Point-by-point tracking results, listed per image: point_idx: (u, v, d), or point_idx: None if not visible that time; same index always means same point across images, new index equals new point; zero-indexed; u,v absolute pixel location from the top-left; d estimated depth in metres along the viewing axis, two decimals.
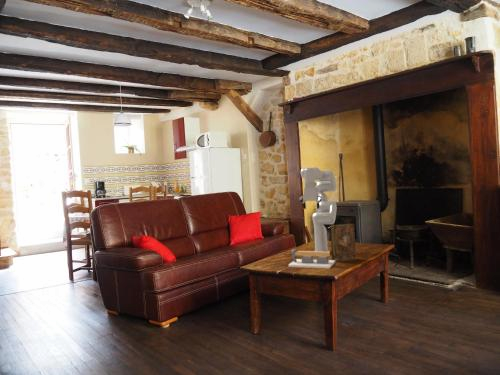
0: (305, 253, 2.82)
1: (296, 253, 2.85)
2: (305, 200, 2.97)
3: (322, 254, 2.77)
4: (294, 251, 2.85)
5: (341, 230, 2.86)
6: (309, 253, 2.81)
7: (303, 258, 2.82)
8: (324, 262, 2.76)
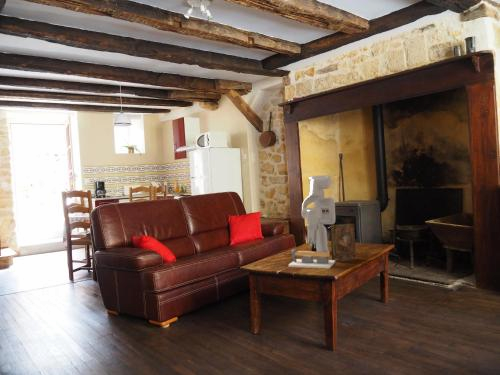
0: (305, 253, 2.82)
1: (296, 253, 2.85)
2: (314, 243, 2.80)
3: (322, 254, 2.77)
4: (294, 251, 2.85)
5: (341, 230, 2.86)
6: (309, 253, 2.80)
7: (303, 258, 2.82)
8: (324, 262, 2.76)
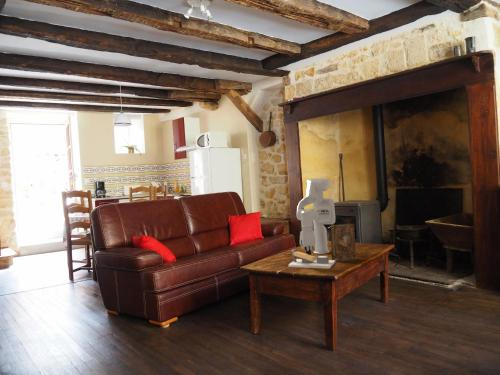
0: (298, 254, 2.79)
1: (294, 253, 2.84)
2: (305, 246, 2.73)
3: (308, 258, 2.68)
4: (292, 251, 2.85)
5: (341, 230, 2.86)
6: (301, 255, 2.76)
7: (303, 258, 2.82)
8: (324, 262, 2.76)
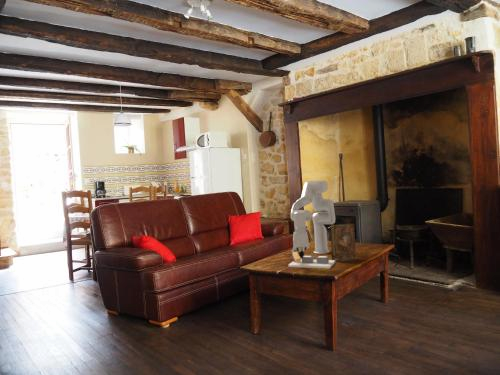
0: (293, 255, 2.78)
1: (292, 253, 2.85)
2: (296, 247, 2.71)
3: (295, 259, 2.67)
4: (292, 251, 2.86)
5: (341, 230, 2.86)
6: None
7: (303, 258, 2.82)
8: (324, 262, 2.76)
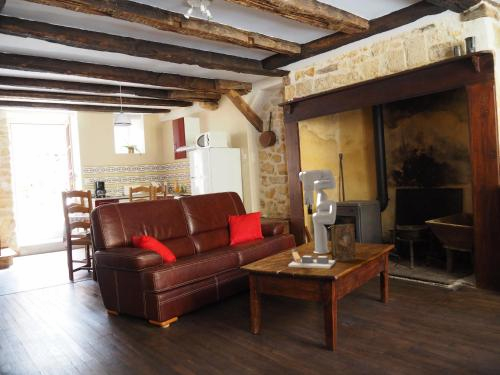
0: (293, 255, 2.78)
1: (292, 253, 2.85)
2: (310, 204, 2.90)
3: (295, 259, 2.67)
4: (292, 251, 2.86)
5: (341, 230, 2.86)
6: None
7: (303, 258, 2.82)
8: (324, 262, 2.76)
